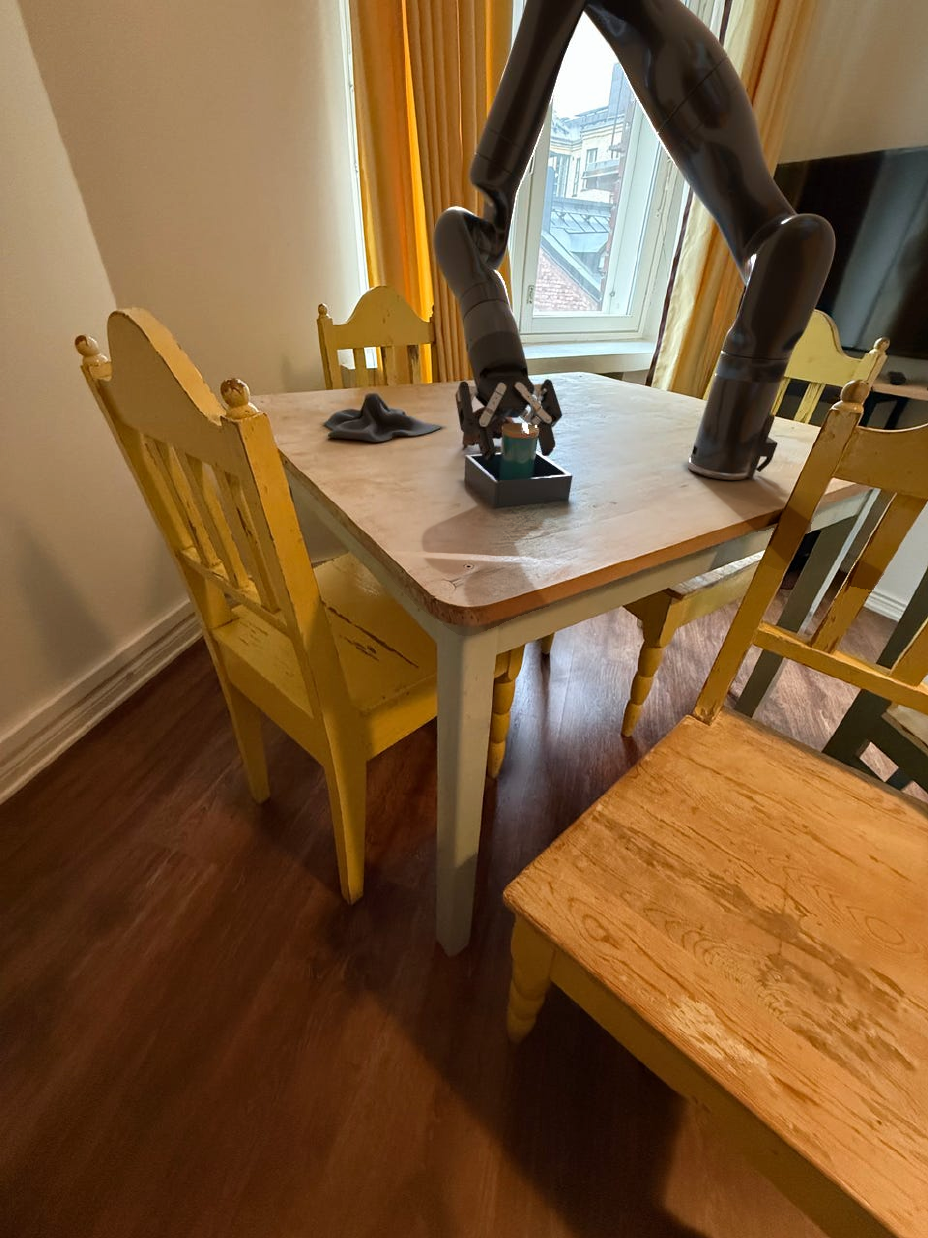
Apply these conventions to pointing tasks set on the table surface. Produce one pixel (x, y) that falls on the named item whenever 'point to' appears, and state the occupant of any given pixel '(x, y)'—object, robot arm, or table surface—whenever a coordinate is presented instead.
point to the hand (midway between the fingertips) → (520, 455)
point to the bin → (517, 482)
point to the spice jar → (518, 451)
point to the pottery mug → (494, 425)
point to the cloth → (375, 422)
